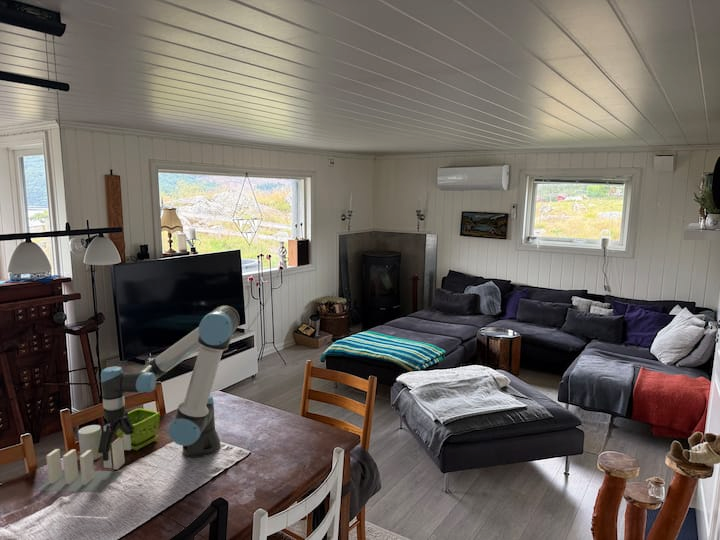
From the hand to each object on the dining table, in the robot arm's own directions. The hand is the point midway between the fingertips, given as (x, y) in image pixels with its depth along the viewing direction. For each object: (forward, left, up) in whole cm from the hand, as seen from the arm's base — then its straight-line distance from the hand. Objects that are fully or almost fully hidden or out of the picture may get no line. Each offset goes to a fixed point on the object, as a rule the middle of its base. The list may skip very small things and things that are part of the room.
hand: (118, 458), depth 194 cm
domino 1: (+18, +11, -3) cm, 22 cm away
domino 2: (+12, +11, -3) cm, 16 cm away
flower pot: (+2, -19, -4) cm, 20 cm away
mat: (+8, +11, -4) cm, 14 cm away
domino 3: (+5, +11, -3) cm, 13 cm away
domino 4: (0, 0, -4) cm, 4 cm away
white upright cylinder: (+16, -7, -4) cm, 18 cm away
